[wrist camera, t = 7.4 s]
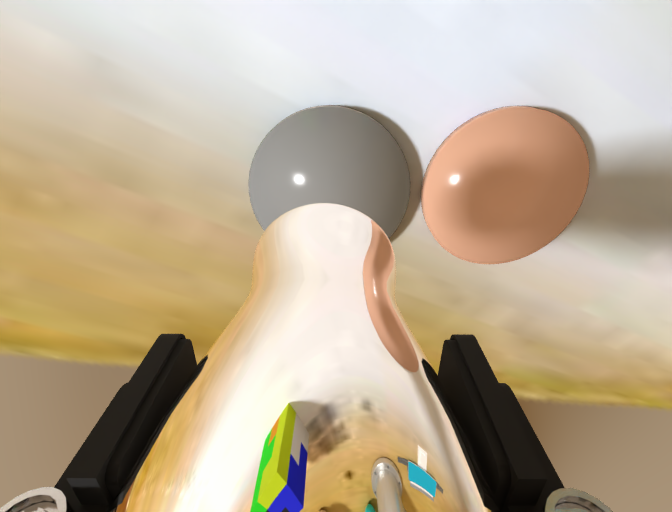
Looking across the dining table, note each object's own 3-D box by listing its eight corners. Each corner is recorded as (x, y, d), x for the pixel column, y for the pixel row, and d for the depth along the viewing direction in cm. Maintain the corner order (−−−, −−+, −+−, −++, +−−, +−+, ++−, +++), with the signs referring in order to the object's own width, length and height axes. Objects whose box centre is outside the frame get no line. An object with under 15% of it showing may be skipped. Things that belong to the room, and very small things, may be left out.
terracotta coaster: (603, 106, 23) (614, 107, 22) (554, 258, 28) (561, 264, 27) (431, 105, 23) (434, 107, 22) (413, 257, 28) (415, 263, 27)
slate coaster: (415, 105, 23) (418, 107, 22) (400, 257, 28) (402, 263, 27) (243, 104, 23) (239, 106, 22) (259, 257, 28) (256, 263, 27)
